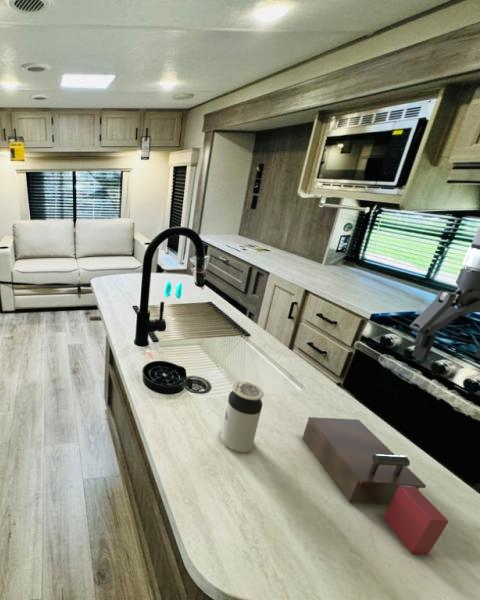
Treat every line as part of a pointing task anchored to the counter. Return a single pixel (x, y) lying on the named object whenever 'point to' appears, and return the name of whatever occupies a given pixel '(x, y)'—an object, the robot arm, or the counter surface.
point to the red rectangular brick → (415, 520)
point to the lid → (365, 453)
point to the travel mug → (242, 416)
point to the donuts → (169, 287)
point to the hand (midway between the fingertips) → (450, 358)
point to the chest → (345, 472)
